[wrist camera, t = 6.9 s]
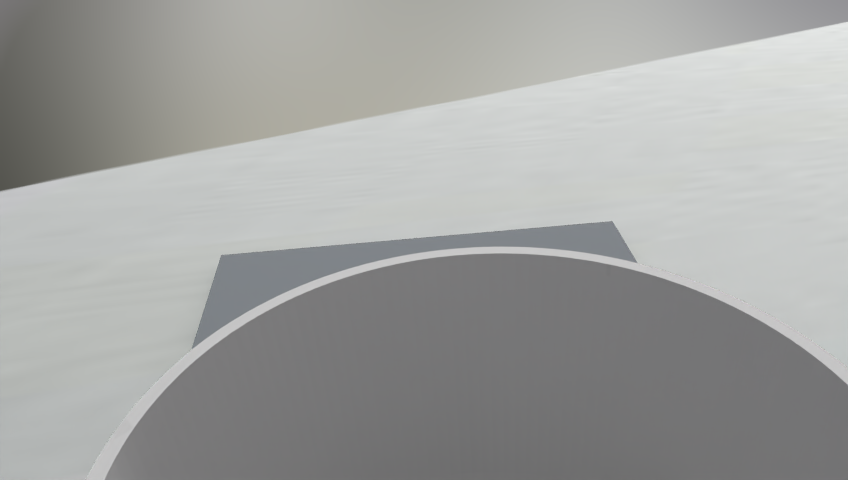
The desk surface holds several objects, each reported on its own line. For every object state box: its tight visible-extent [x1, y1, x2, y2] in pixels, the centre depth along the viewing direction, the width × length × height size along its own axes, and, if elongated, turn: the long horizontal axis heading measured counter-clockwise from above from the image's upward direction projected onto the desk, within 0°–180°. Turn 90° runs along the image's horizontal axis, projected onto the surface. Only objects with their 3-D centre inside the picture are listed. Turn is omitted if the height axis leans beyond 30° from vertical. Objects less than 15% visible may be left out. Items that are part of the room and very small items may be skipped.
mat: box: [192, 221, 637, 349], centre depth 25 cm, size 16×15×1 cm
